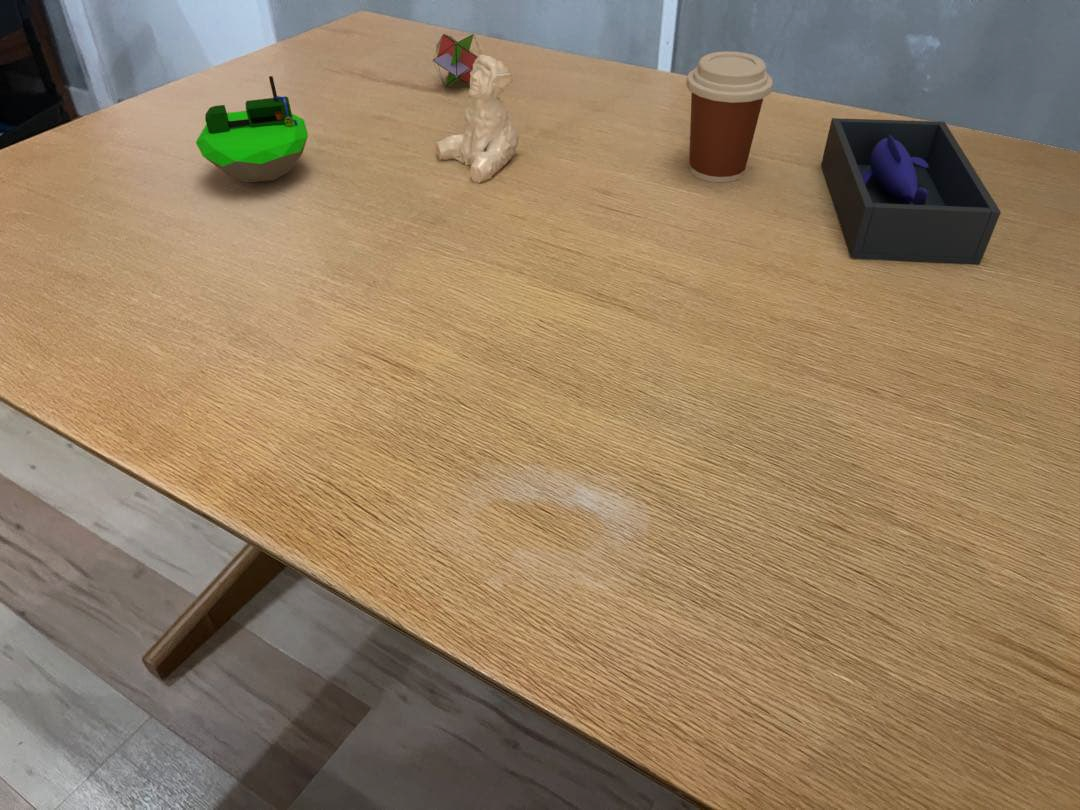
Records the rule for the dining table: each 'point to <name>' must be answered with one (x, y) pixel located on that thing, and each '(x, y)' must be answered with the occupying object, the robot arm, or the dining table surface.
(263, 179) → the miniature floating island
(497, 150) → the seated clay statuette
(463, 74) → the geometric puzzle
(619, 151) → the dining table surface
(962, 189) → the bin
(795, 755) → the dining table surface
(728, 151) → the coffee cup
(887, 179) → the fish toy
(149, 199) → the dining table surface
